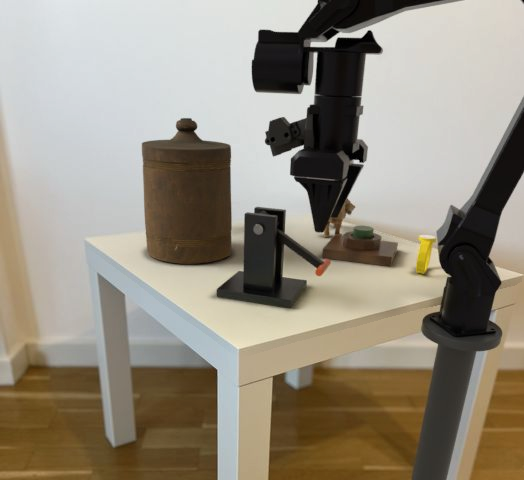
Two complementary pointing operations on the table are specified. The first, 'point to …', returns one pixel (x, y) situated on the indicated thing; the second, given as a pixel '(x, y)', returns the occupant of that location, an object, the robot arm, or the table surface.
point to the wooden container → (187, 197)
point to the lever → (302, 251)
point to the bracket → (263, 264)
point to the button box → (361, 249)
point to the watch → (424, 252)
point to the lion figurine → (339, 219)
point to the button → (363, 232)
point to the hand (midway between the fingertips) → (326, 224)
